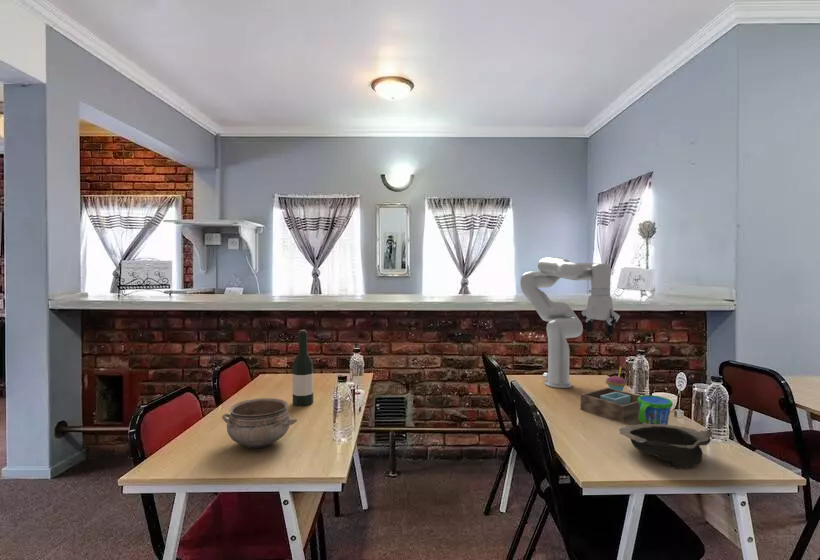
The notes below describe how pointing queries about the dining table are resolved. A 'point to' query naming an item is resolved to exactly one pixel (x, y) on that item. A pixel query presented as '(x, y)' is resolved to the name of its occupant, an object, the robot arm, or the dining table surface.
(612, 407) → the big crate
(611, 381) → the cupcake
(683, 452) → the stone bowl
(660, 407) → the snack cup
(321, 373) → the dining table surface
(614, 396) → the small crate
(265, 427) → the cooking pot
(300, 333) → the wine bottle
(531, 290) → the robot arm
